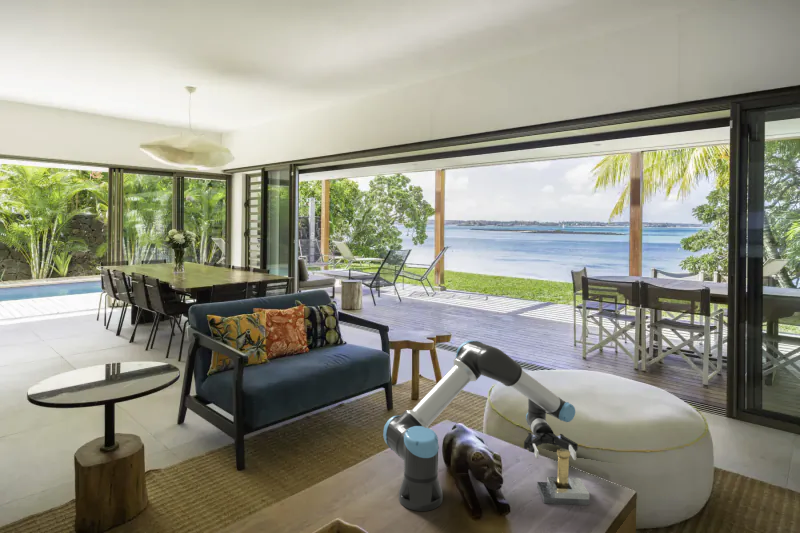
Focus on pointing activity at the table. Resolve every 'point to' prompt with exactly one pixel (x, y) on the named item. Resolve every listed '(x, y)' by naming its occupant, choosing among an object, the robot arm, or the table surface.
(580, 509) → the table surface
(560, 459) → the brass pin
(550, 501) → the square hole block
